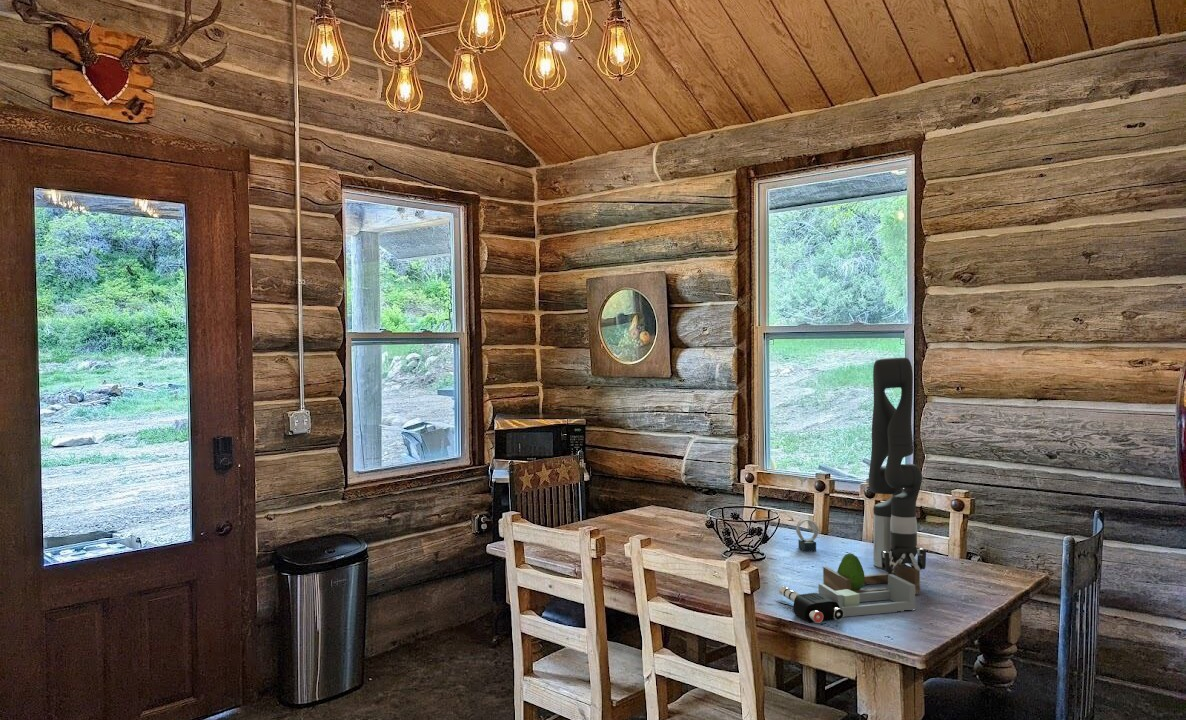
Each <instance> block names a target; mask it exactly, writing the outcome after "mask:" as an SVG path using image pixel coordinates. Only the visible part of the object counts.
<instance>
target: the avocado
mask: <svg viewBox="0 0 1186 720" xmlns="http://www.w3.org/2000/svg"><path fill="white" fill-rule="evenodd" d="M859 559H860V558H858V557H857V556H856V555H855V554H854V553H851V552H849V553H845V554H844V556H843V557H842V559H841V562H840V564H839V566H838V569H837V571H836V572H837V573H839V574H841V575H843V576H844V577H846V578H848V579H850V580H851V591H854V590H862V589H863V587H864V585H865V584H864V580H865V577H864V575H865V571H864V569H863V566H862V563H861V562H860V560H859Z"/></svg>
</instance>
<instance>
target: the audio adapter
mask: <svg viewBox="0 0 1186 720" xmlns="http://www.w3.org/2000/svg"><path fill="white" fill-rule="evenodd" d="M778 593H779V595H781V596H783V597H785V598H786V599H787V600H790V601H792V602H793V606H792V609H793V613H794V615H795V616H798V617H799V618H801V619H803V620H804V621H806V622H808V623H809V624H813V623H814V624H815V623H816V624H820V623H821V622H822V623H823V622H829V621H835V620H836V621H841V620H842V619H843V618H844V617H843V615H844V612H843V610H842V609H840V607H839V605H838V604H837V603H836V602H834V601H832V600H830V599H829V598H827V597H825V596H823V595H821V594H819V592H811V593H809V592H808V593H801V594H800V593H798V592H796V591H794V590H792V589H790V588H789V587H786V586H785V585H782V586H780V587H779V589H778Z"/></svg>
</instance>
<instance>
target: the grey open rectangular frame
mask: <svg viewBox="0 0 1186 720" xmlns="http://www.w3.org/2000/svg"><path fill="white" fill-rule="evenodd" d="M887 588H888V590H885V591H873V592H862V593H858V594H860V603H865V602H876V601H887V600H890V601H892V602H883V603H881V602H880V603H870V604H860V605H857V606H846V607H842V595H841V594H839V593H838V592H836V591H834V590H833V589H831V588H829V587H828V586H826V585H824V584H823V582H822V583H818V594H821V595H823V596H825V597H827V598H829V599H830V600H832V601H834V602H836V603H837V604H838V605H839V607H840V609H842V610H843V612H844V615H843V618H844V617H854V616H855V617H856V616H867V615H868V616H869V615H876V614H887V613H897V611H901V612H905V611H904V610H912V611H914V610H913V609H915V610H916V595H915V585H914V584H912V583H910V582H908V581H906V580H904V579H902V578H900V577H898V576H895V575H893V574H889V575H888V583H887Z"/></svg>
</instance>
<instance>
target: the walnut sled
mask: <svg viewBox="0 0 1186 720" xmlns="http://www.w3.org/2000/svg"><path fill="white" fill-rule="evenodd" d="M889 560H890V561H891V559H889ZM895 563H896V561H895ZM822 571H823V575H822V579H823V580H822V581H823V582H822V583H823V584H824V585H826V586H828V587H829V588H831V589H833V590H834V591H838V590H844V589H849V590H851V580H850V579H848V578H846V577H844V576H843V575H841V574H839V573H837V571H835V570H834V569H832V568H829V567H828V566H823V568H822ZM920 571H921V570H920ZM920 571H919V570H917V569H914V568H912V567H911V566H910V565H909V564H907V563H906V564H901V565H900V567H899V568H897V570H896V572H895V574H896V576H898V577H900V578H902V579H904V580H906V581H908V582H910V583H912V584H914V585H915V594H919V595H920V593H921V588H920V587H921V584H920V583H921V580H920V579H921V578H920V577H921V576H920V574H921V572H920ZM864 577H865V580H864V585H872V584H884V583H885V584H888V573H877V574H866V575H865V574H864ZM885 590H888V587H880V588H870V589H869V588H868V589H860V590H854V592H856V593H862V592H873V591H885Z"/></svg>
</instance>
